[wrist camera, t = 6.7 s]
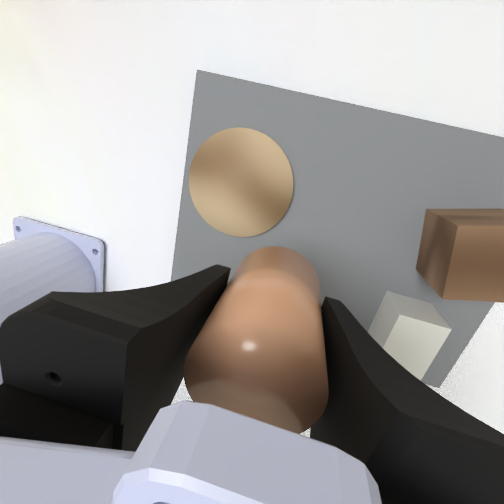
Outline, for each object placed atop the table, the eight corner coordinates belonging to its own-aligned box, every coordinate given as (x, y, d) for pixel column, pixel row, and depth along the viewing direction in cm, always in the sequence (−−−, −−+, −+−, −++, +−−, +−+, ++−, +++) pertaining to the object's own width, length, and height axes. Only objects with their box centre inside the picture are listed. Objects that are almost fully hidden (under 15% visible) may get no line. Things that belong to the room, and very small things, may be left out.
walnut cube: (484, 271, 18) (530, 303, 14) (415, 269, 19) (442, 299, 15) (501, 208, 16) (557, 226, 13) (426, 208, 17) (458, 225, 14)
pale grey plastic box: (400, 358, 21) (414, 390, 18) (360, 346, 21) (368, 376, 19) (431, 303, 19) (451, 329, 16) (386, 290, 19) (399, 314, 17)
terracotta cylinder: (305, 332, 14) (304, 456, 8) (227, 310, 14) (176, 414, 9) (330, 259, 12) (350, 350, 7) (242, 236, 13) (192, 305, 7)
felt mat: (436, 383, 22) (439, 388, 21) (169, 302, 24) (167, 304, 23) (582, 156, 15) (589, 156, 15) (199, 71, 17) (196, 69, 17)
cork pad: (278, 246, 20) (277, 248, 19) (185, 220, 20) (182, 222, 20) (307, 142, 17) (307, 142, 17) (198, 116, 18) (196, 115, 17)
